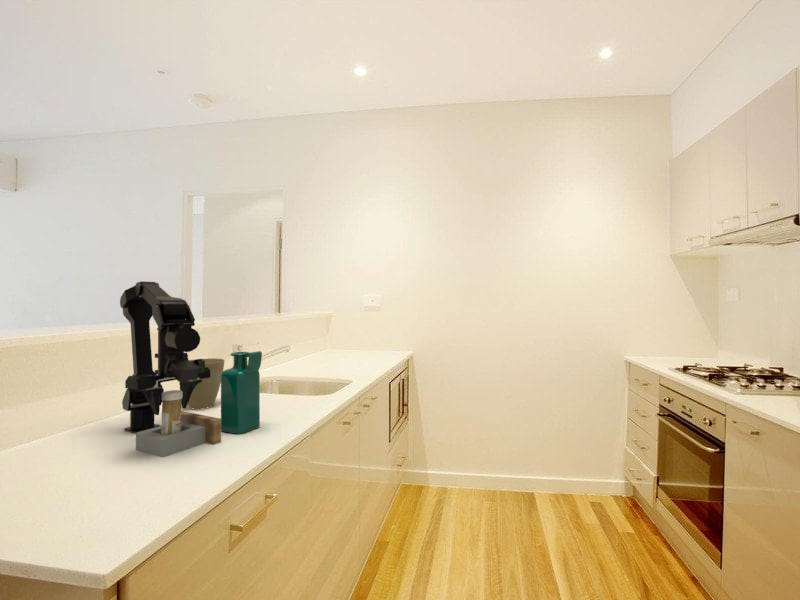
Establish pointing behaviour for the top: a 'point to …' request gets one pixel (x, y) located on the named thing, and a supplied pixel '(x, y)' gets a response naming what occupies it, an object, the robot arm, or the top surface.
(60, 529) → the top surface
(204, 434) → the holder block
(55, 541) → the top surface
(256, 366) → the pitcher
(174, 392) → the sprinkles bottle
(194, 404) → the plant pot
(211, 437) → the walnut wall
